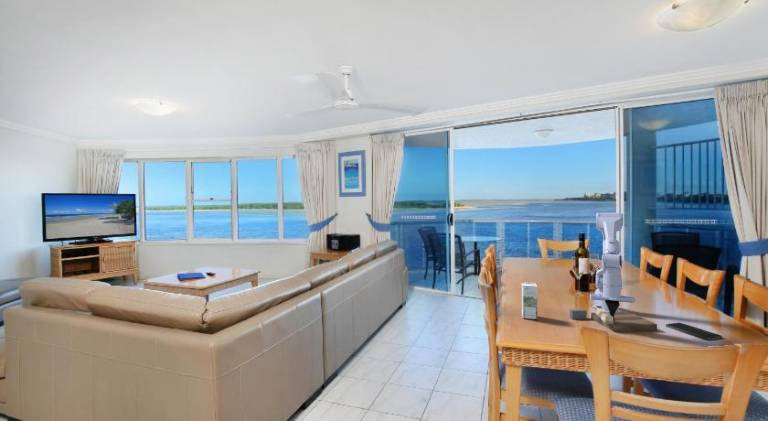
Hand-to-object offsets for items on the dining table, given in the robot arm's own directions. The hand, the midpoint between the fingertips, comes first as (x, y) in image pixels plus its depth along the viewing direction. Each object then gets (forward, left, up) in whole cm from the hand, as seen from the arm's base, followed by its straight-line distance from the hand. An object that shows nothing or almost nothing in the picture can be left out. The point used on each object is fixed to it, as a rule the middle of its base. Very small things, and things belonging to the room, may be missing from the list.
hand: (611, 319), depth 138 cm
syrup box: (-15, -26, -4) cm, 30 cm away
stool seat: (-4, +7, -3) cm, 8 cm away
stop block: (-12, -6, -3) cm, 14 cm away
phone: (+6, +27, -4) cm, 28 cm away
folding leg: (-4, -1, 0) cm, 4 cm away
